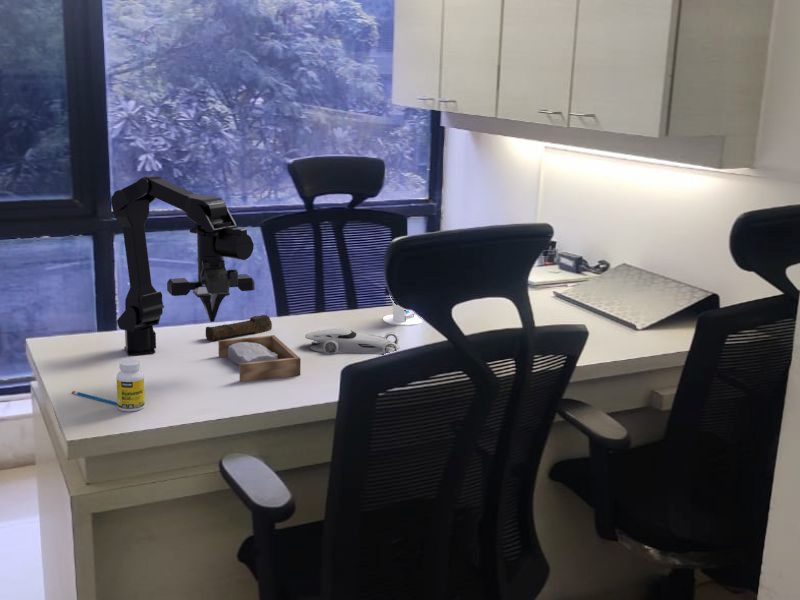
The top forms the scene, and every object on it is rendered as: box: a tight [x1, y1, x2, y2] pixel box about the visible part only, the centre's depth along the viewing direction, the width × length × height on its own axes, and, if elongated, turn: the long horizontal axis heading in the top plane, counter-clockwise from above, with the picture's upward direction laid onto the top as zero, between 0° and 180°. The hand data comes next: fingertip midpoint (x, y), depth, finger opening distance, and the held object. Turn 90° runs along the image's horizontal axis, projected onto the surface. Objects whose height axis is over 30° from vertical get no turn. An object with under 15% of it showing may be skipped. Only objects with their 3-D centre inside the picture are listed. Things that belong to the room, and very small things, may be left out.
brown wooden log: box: [205, 314, 273, 342], centre depth 236 cm, size 19×4×5 cm, turn 128°
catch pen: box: [217, 334, 302, 383], centre depth 212 cm, size 14×20×4 cm
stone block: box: [227, 342, 278, 367], centre depth 215 cm, size 12×5×10 cm
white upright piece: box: [382, 295, 424, 327], centre depth 254 cm, size 12×11×15 cm
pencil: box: [71, 390, 117, 406], centre depth 187 cm, size 1×17×1 cm, turn 62°
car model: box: [304, 327, 401, 355], centre depth 228 cm, size 11×24×5 cm, turn 89°
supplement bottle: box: [115, 358, 146, 413], centre depth 182 cm, size 5×5×10 cm
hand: (211, 321), depth 205 cm, fingers closed
